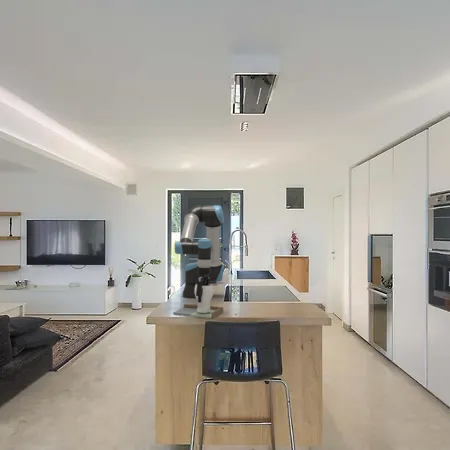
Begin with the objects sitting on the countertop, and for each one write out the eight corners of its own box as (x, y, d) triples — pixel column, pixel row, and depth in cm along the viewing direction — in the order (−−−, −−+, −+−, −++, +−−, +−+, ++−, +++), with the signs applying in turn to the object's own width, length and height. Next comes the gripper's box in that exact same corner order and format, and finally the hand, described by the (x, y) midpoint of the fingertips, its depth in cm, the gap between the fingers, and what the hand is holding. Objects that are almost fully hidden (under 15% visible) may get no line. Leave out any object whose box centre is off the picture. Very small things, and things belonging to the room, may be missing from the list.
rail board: (184, 309, 255) (184, 304, 255) (222, 312, 247) (222, 307, 247) (173, 314, 240) (173, 309, 240) (213, 318, 232) (213, 312, 232)
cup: (195, 313, 234) (195, 286, 234) (193, 309, 245) (193, 283, 244) (214, 313, 236) (214, 285, 236) (211, 309, 247) (211, 283, 246)
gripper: (205, 264, 252) (204, 301, 252) (190, 268, 230) (189, 309, 231) (217, 265, 250) (216, 302, 250) (203, 269, 228) (202, 310, 228)
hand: (203, 306), depth 240 cm, fingers closed on cup, 11 cm apart
